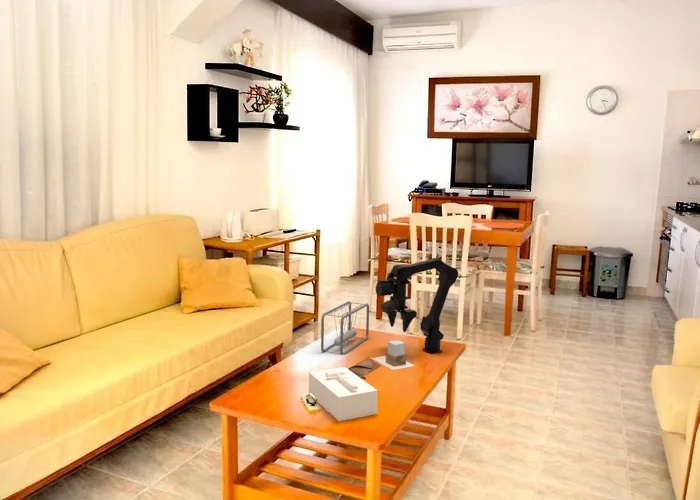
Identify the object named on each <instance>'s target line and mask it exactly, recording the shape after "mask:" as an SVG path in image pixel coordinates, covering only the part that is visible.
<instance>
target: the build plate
mask: <svg viewBox="0 0 700 500" xmlns="http://www.w3.org/2000/svg"><path fill="white" fill-rule="evenodd" d="M371 359H372V360H373V361H375V362H376V363H378V364H380V365H383V366H385V367H387V368H388V369H390V370H393V371H395V370H399V369H405V368H409V367H415V364H413V363H410V362H409V361H407V360H406V364H405V365H400V366H395V367H394V366H392V365H390V364H388V363H386V355H383V356H382V355H381V356H377V357H371Z"/></svg>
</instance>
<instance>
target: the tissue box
mask: <svg viewBox="0 0 700 500" xmlns="http://www.w3.org/2000/svg"><path fill="white" fill-rule="evenodd" d="M348 369H349V368H347V367H345V366H342V367H336V368H329V369H323V370H317V371H310V372H308V394H309V393H312V394H313V395H314V396H315V398H316V399H317V401H319V402H320V403H321V405H322V406H323V407H324V408H325V409H324V410H325V411H327V412H328V413H329V412H330V413H331V414H330V413H329V414H330V415H331V416H332V415H333V416H334V417H335V418H336V419H337V422H342V420H343V421H347V419H348V420H352V419H353V420H354V419H357V418H362V417H368V416H373V415H377V414H378V389H376V388H375V387H373V386H372V385H371V384H369V383H368V382H366V380H363V379H361V378H360V377H358V376H357V375H355V374H354V373H353V372H351V371H350V370H348ZM317 401H316V402H317ZM321 405H320V406H321ZM322 406H321V407H322ZM323 407H322V408H323ZM333 416H332V417H333ZM334 417H333V418H334ZM335 418H334V419H335ZM336 419H335V420H336Z"/></svg>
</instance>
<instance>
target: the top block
mask: <svg viewBox="0 0 700 500" xmlns="http://www.w3.org/2000/svg"><path fill="white" fill-rule="evenodd" d="M405 347H406V343H405V342H404V341H401V340H398V339H396V340H390V341H387V353H388V354H390V355H392V356H394V357H396V356H401V355H406V354H405V352H406V350H405V349H406V348H405Z"/></svg>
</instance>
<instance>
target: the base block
mask: <svg viewBox="0 0 700 500" xmlns="http://www.w3.org/2000/svg"><path fill="white" fill-rule="evenodd" d="M385 356H386V363H388V364H390V365H392V366H394V367H395V366H400V365H405V364H406V361H407V354H405V355H401V356H396V357H394V356H392V355H390V354H388V352H385Z"/></svg>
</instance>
